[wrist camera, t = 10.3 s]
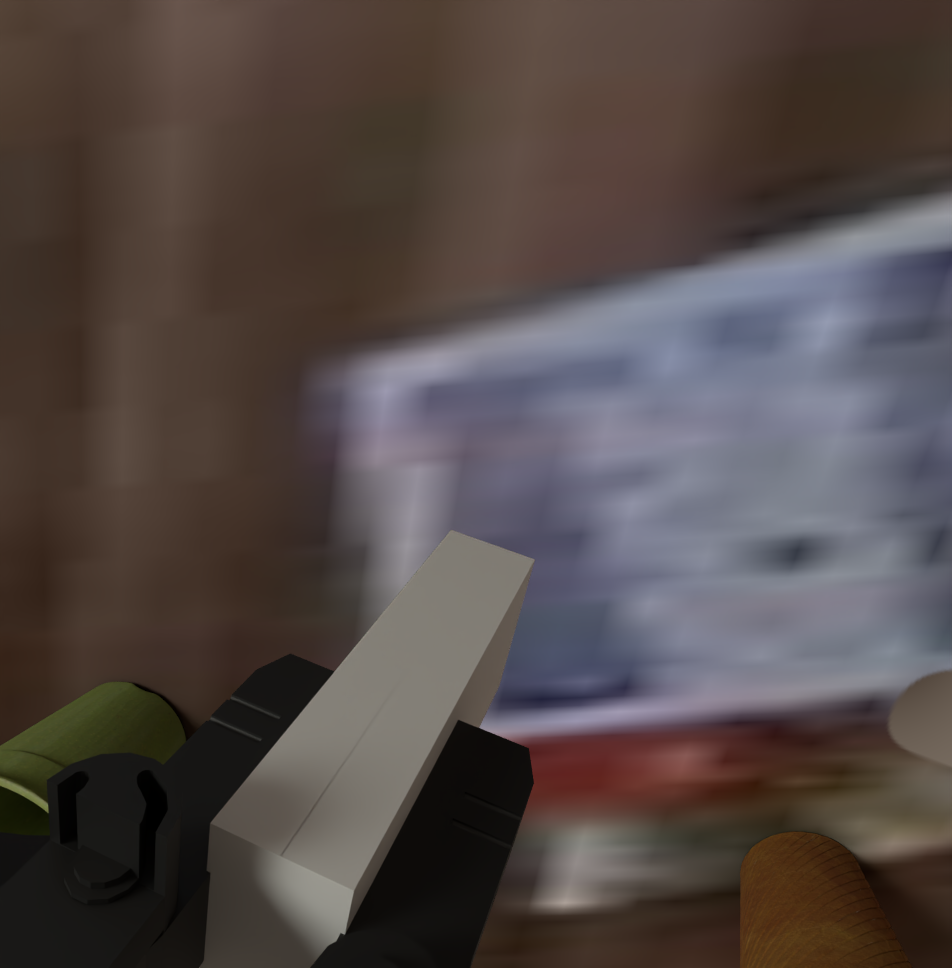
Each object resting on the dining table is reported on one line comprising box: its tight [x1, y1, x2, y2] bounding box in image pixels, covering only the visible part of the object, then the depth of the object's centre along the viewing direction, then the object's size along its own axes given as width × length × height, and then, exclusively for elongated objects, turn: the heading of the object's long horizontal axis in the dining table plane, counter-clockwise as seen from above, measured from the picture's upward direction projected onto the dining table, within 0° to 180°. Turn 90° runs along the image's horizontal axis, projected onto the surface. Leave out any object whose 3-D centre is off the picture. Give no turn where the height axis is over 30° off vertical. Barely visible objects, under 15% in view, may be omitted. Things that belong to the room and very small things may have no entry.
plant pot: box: [0, 682, 186, 835], centre depth 43 cm, size 12×12×11 cm
